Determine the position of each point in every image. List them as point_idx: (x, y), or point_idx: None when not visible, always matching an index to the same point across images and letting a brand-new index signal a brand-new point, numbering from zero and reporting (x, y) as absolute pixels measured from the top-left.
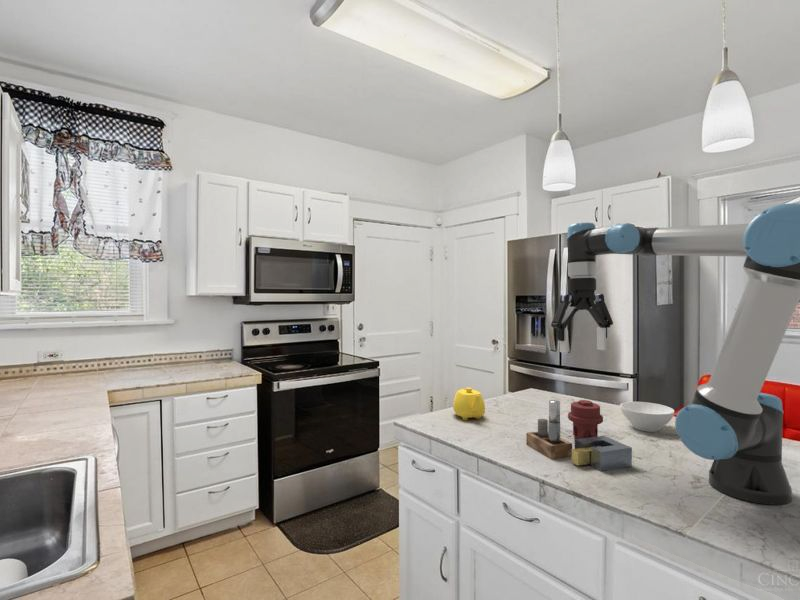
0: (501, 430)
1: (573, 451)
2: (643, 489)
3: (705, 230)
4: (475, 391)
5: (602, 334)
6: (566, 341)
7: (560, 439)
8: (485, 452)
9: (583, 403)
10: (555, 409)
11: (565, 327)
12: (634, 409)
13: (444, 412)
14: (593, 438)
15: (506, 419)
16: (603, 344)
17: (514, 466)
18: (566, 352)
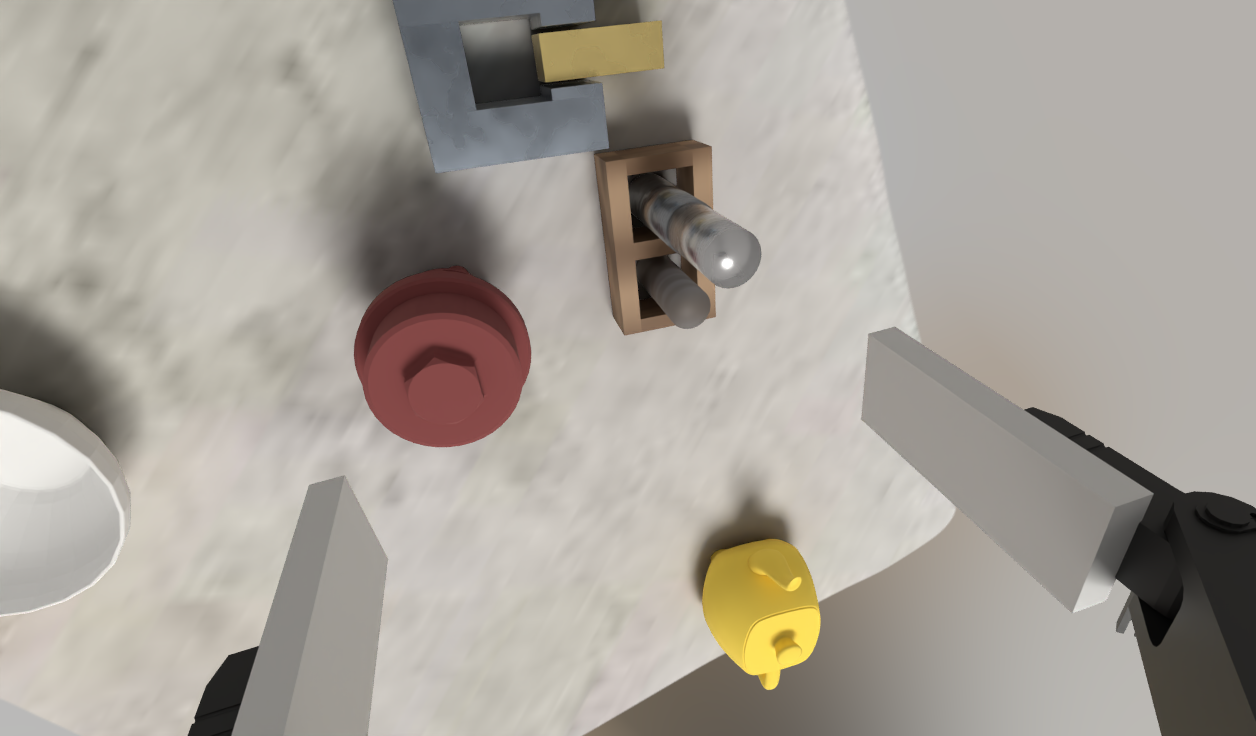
0: (708, 441)
1: (662, 53)
2: None
3: None
4: (755, 651)
5: (315, 680)
6: (986, 394)
7: (626, 221)
8: (868, 243)
9: (471, 366)
10: (728, 220)
11: (1189, 531)
12: (17, 574)
13: None
14: (512, 144)
15: (633, 547)
16: (337, 535)
17: (854, 95)
18: (893, 331)
